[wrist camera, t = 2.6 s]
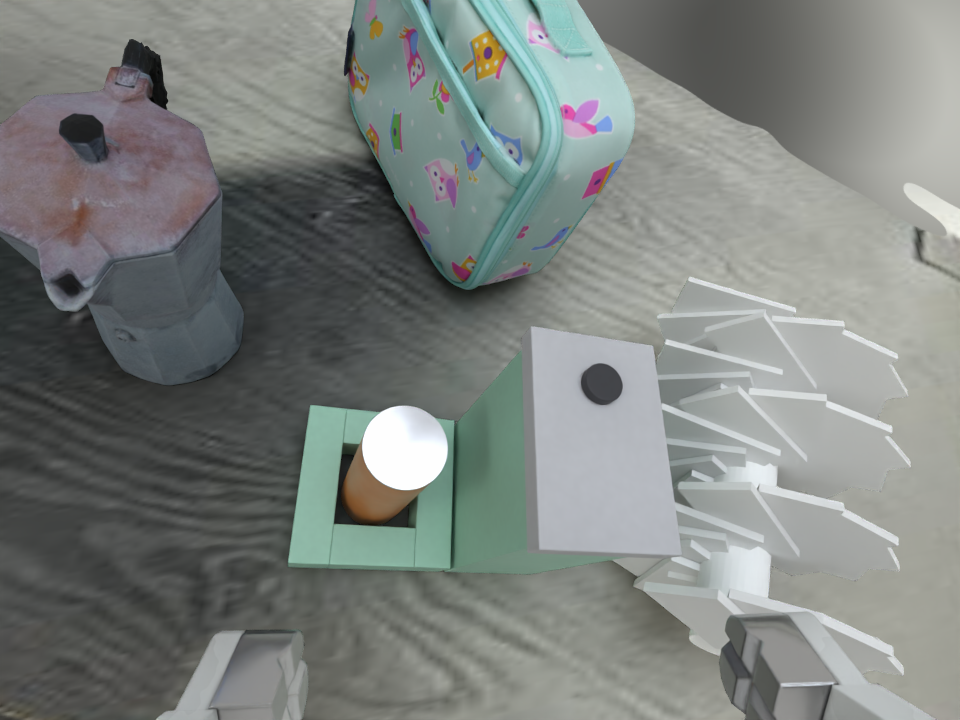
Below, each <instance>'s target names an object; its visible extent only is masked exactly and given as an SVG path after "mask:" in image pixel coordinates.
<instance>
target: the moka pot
mask: <svg viewBox="0 0 960 720" xmlns="http://www.w3.org/2000/svg"><path fill="white" fill-rule="evenodd" d="M167 103H168V99H167V91H166V89H165V86H164V82H163V71H162V65H161V59H160V55H158V54H156V53H155V52H154V51H151V50H150V49H149V47H148V46H145V47H144V45H143V44H142V42H141V43H139V42H137V41H136V40H134V39H130V40H129V42H128V44H127V46H126V48H125V50H124V55H123V60H122V65H121V67H111V68H110V70H109V73H108V76H107V79H106V82H105V85H104V88H103V89H102V90H100V91H93V92H83V93H68V94H54V95H41V96H35V97H34V98H32V99H31V100H30V101H29V102H27V103H26V104H25V105H24V106H22V107H21V108H20V109H19V110H18V111H17V112H15V113H14V114H13V115H12V116H10V117H9V118H8V119H7V120H6V121H4V122H3V123H2V124H1V125H0V237H1V238H3V239H4V240H5V241H6V242H7V243H9V244H10V245H11V246H12V247H13V248H15V249H16V250H17V251H18V252H19V253H21V254H22V255H23V256H24V257H25V258H26V259H28V260H29V261H30V262H31V263H32V264H33V265H35V266H36V267H37V268H38V269H40V271H41V276H42V278H43V281H44V284H45V288H46V291H47V294H48V296H49V298H50V300H51V301H52V302H53V304H54V305H55V306H56V307H57V308H58V309H60V310H62V311H74V312H77V311H78V310H80V309H81V308H82V307H83V306H85V305H86V304H88V306H89V308H90V310H91V313H92V315H93V318H94V320H95V323H96V325H97V328H98V330H99V332H100V335H101V338H102V340H103V341H104V343H105V345H106V346H107V348H108V349H109V351H110V352H111V354H112V356H113V357H114V358H115V360H116V361H117V363H118V365H119V366H120V367H121V368H122V369H123V371H125V372H127V373H129V374H131V375H133V376H136V377H138V378H141V379H144V380H147V381H150V382H154V383H159V384H162V385H176V384H182V383H188V382H192V381H196V380H199V379H202V378H205V377H207V376H210V375H212V374H213V373H215V372H216V371H218V370H219V369H220V368H221V367H222V366H223V365H224V364H225V363H226V362H228V361H229V360H230V359H231V357H232V356H233V355H234V354H235V353H236V352H237V350H238V349H239V347H240V344H241V340H242V332H243V323H244V312H243V310H242V307H241V305H240V303H239V302H238V300H237V299H236V297H235V295H234V294H233V292H232V290H231V288H230V287H229V285H228V284H227V282H226V280H225V278H224V276H223V275H222V273H221V271H220V269H219V268H220V262H221V227H222V191H221V188H220V185H219V182H218V179H217V176H216V173H215V170H214V168H213V165H212V162H211V159H210V156H209V153H208V150H207V147H206V143H205V139H204V136H203V133H202V131H201V130H200V129H199V128H198V127H196V126H195V125H193V124H192V123H190V122H188V121H186V120H184V119H182V118H180V117H178V116H176V115H175V114H173V113H171V112H170V111H167V107H166V104H167Z"/></svg>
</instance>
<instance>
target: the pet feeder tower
mask: <svg viewBox="0 0 960 720" xmlns="http://www.w3.org/2000/svg"><path fill="white" fill-rule="evenodd" d="M521 345H522V350H521V351H520V352H519V353H518V354H517V355H516V356H515V358H514V359H513V360H512V361H511V362H510V363H509V364H508V366H507V367H506V368H505V369H504V370H503V371H502V372H501V374H500V375H499V376H498V377H497V378H496V379H495V380H494V381H493V383H492V384H491V385H490V386H489V387H488V388H487V389H486V391H485V392H484V393H483V394H482V395H481V396H480V397H479V399H478V400H477V401H476V402H475V403H474V404H473V405H472V406H471V408H470V409H469V410H468V411H467V412H466V413H465V414H464V416H463V417H462V418H461V419H460V420H459V421H458V422H457V423H456V425H455V426H454V455H453V492H452V529H451V566H450V568H449V569H446V570H444V572H466V573H500V574H535V573H541V572H546V571H552V570H558V569H563V568H569V567H575V566H580V565H586V564H592V563H597V562H603V561H609V560H615V559H620V558H626V557H634V558H659V559H666V558H672V557H679V556H682V551H681V544H680V536H679V529H678V522H677V515H676V507H675V500H674V493H673V486H672V479H671V471H670V464H669V457H668V450H667V442H666V435H665V428H664V421H663V414H662V406H661V399H660V392H659V385H658V377H657V370H656V363H655V356H654V349H653V346H652V345H646V344H640V343H634V342H628V341H621V340H615V339H609V338H603V337H596V336H590V335H584V334H578V333H571V332H565V331H559V330H553V329H546V328H540V327H534V326H531V327H530V328H529V329H528V331H527V332H526V333H525V334H524V335H523V336H522V338H521Z"/></svg>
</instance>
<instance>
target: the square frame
mask: <svg viewBox="0 0 960 720" xmlns="http://www.w3.org/2000/svg"><path fill="white" fill-rule="evenodd" d="M379 413H380V412H372V411H363V410H353V409H347V410H346V409H344V408H334V407H325V406H315V405H310V410H309V417H308V424H307V431H306V438H305V445H304V452H303V459H302V466H301V473H300V480H299V487H298V494H297V501H296V508H295V515H294V522H293V529H292V536H291V543H290V550H289V557H288V567H302V568H334V569H367V570H400V571H405V570H406V571H435V572H439V571H442V570H446V569H449V568H450V566H451V529H452V492H453V455H454V420H446V419H437V418H435V419H436V420H437V421H438V422H439V424H440V425H441V427H442V428H443V430H444V432H445V435H446V438H447V443H448V455H447V460H446V463H445V466H444V468H443V469H442V471H441V473H440V474H439V475H438V476H437V477H436V478H435V480H433V481H432V482H431V483H430V484H429V485H428V486H427V487H426V488H425V489H424V490H423V491H422V492H420V493H419V494H418V495H417V496H416V497H415V498H414V499H413V500H412V501H411V502H410V503H409V517H408V528H406V527H386V526H367V525H347V524H334V517H335V508H336V499H337V490H338V482H339V473H340V464H341V455H342V454H346V455H355V454H356V451H357V449H358V447H359V444H360V442H361V440H362V437H363V435H364V433H365V430H366V428H367V426H368V425H369V423H370V422H371V421H372V419H373V418H374V417H375V416H376V415H378V414H379Z"/></svg>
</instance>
